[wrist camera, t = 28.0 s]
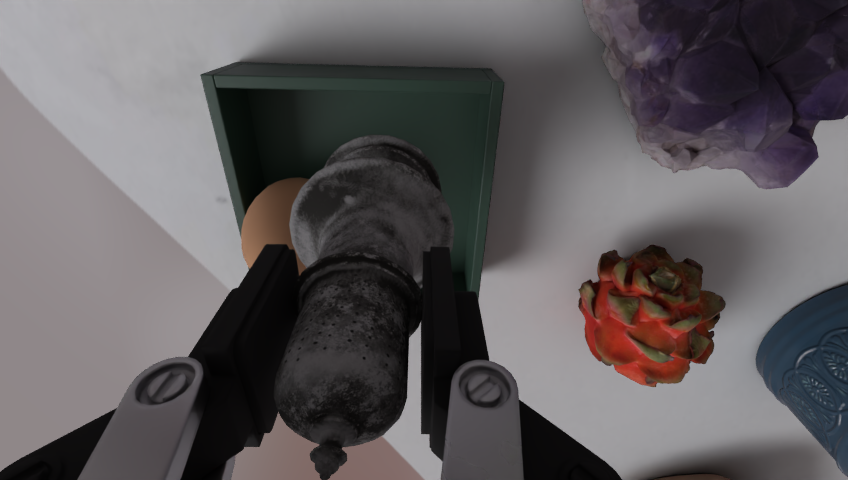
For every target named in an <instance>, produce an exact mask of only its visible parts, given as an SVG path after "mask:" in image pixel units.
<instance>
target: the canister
mask: <svg viewBox="0 0 848 480" xmlns="http://www.w3.org/2000/svg"><path fill="white" fill-rule="evenodd" d="M756 366H757V370H758V372H759V374H760V375H761V377H762V378H763V379H764V382H765V384H766V386H767V388H768V389H769V390H770V391H771V392H772V393H773V394H774V396H775V397H776V398H777V400H779V401H780V402H781V403H782V404H784V405H785V406H787V407H788V408H789V409H790V411H791V412H792V413H793V414H794V415H795V416H796V417H797V418H798V419H799V421H800V422H801V423H802V424H803V425H804V426H805V427H806V428H807V429H808V431H809V432H810V433H811V434H812V435H813V436H814V437H815V438H816V440H817V441H818V442H819V443H820V444H821V445H822V446H823V447H824V448H825V450H826V451H827V452H828V453H829V454H830V455H831V456H832V457H833V459H834V460H835V461H836V463H837V466H838V468H839V469H840V470H841V471H842V473H844V474H845V475H846V476H847V477H848V285H845V286H841V287H838V288H835V289H833V290H830V291H827V292H825V293H822V294H820V295H818V296H816V297H814V298H812V299H810V300H808V301H806V302H805V303H803V304H801V305H800V306H798V307H796V308H795V309H793V310H792V311H791V312H789V313H788V314H787V315H785V316H784V317H783V318H782V319H781V320H780V321H778V322H777V323H776V324H775V325H774V326H773V327H772V328H771V330H770V331H769V332H768V333H767V335H766V336H765V338H764V339H763V341H762V343H761V344H760V346H759V349H758V352H757V356H756Z"/></svg>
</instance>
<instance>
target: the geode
mask: <svg viewBox="0 0 848 480" xmlns="http://www.w3.org/2000/svg"><path fill="white" fill-rule="evenodd" d="M582 1H583V8H584V12H585V14H586V16H587V18H588V21H589V24H590V27H591V29H592V30H593V31H594V32H595V33H596V35H597V36H598V37H599V38H600V39H601V40H602V41H603V42H604V44H605V45H606V48H605V50H604V52H603V54H602V60H603V62H604V63H605V65H606V67H607V69H608V71H609V72H610V74H611V76H612V79H613V80H615V81H616V82H617V83H618V88H619V96H620V98H621V100H622V103H623V105H624V108H625V110H626V113H627V115H628V118H629V120H630V122H631V124H632V126H633V127H634V129H635V131H636V137H637V140H638V142H639V143H640V144H641V148H642V153H646V154H648V155H650V156H651V158H652V159H654V160H656V161H657V162H658V163H659V164H660V165H661V166H663V167H667V168H670V169H672V171H673V173H675V172H677V171H678V170H691V169H695V168H699V167H701V166H708V167H710V168H712V169H725V168H732V169H738V170H741V171H743V172H744V173H745V174H746V175H747V176H748V177H749V178H750V179H751V180H752V181H753V182H754V183H755V184H756V185H757V186H758V187H760V188H763V189H773V188H783V187H788V186H789V185H790V184H791V183H793V182H794V181H795V180H796V179H797V178H798V177H799V176H800V175H801V174H802V173H804V172H805V171H806V170H807V169H808V168H809V167H810V166H811V165H812V164H813V162H814V161H815V160H816V159H817V158H818V152H817V146H816V144H815V143H814V141H813V139H812V137H813V133H814V130H815V127H816V125H817V124H818V122H819V121H820V120H837V119H843V118H844V117H845V116H847V115H848V0H582Z"/></svg>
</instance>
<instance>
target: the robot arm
mask: <svg viewBox="0 0 848 480" xmlns="http://www.w3.org/2000/svg"><path fill="white" fill-rule="evenodd" d="M298 278H299V270H298V264H297V259H296V253H295V250H294V249H289V247H288V245H287V244H266V245H265V246H264V247H263V249H262V251H261V252H260V254H259V255H258V257H257V259H256V260H255V262H254V263H253V265H252V266H251V268H250V270H249V271H248V273H247V274H246V276H245V278H244V279H243V281H242V282H241V284H240V286H239V287H238V288H235V289H233V290H232V291H231V292H230V293H229V294H228V296H227V297H226V299H225V301H224V302H223V304H222V305H221V307H220V308H219V310H218V311H217V313H216V314H215V316H214V318H213V319H212V321H211V322H210V324H209V325H208V327H207V328H206V330H205V331H204V333H203V335H202V336H201V338H200V339H199V341H198V342H197V344H196V345H195V347H194V348H193V350H192V352H191V353H190V355H189V356H188V357H175V358H170V359H166V360H163V361H161V362H158V363H156V364H154V365H152V366H151V367H149V368H148V369H145V370H144V371H143V372H142V373H141V374H139V375H138V376H137V377H136V378H135V379H134V381H133V382H132V384H131V385H130V386H129V388H128V389H127V392H126V393H125V395H124V397H123V398H122V400H121V402H120V404H119V406H118V407H117V408H116V409H114V410H112V411H110V412H109V413H107V414H105V415H103V416H101V417H99V418H97V419H95V420H93V421H91V422H89V423H87V424H85V425H84V426H82V427H80V428H78V429H76V430H74V431H73V432H70V433H68V434H67V435H65V436H63V437H61V438H59V439H57V440H55V441H53V442H51V443H49V444H47V445H45V446H43V447H42V448H40V449H38V450H36V451H34V452H32V453H30V454H29V455H26V456H25V457H22V458H21V459H19V460H17V461H16V462H14V463H13V464H11V465H9V466H8V467H6V468H4V469H3V470H2V471H1V472H0V480H231V477H232V473H233V468H234V464H235V455H236V454H238V453H239V452H241V451H242V450H243V449H244V447H259V446H260V444H261V441H262V438H263V436H264V433H270V432H271V430H272V428H273V426H274V423H275V420H276V417H277V414H278V410H277V407H276V404H275V400H274V396H273V394H274V384H275V379H276V373H277V370H278V368H279V365H280V362H281V360H282V357H283V355H284V352H285V349H286V347H287V344H288V342H289V339H290V336H291V334H292V331H293V328H294V326H295V323H296V321H297V317H296V315H295V312H294V307H293V301H292V294H293V289H294V285H295V283H296V281H297V280H298ZM421 434H430V448H431V451H432V452H433V453H434V454H435V455H436V456H437V457H439V458H440V459H441V460H442V461H443V464H442V473H441V480H622V479H621V478H620V476H619V475H618V474H617V472H616V471H615V470H614V469H613V468H612V467H611V466H609V465H608V464H607V463H606V462H605V461H604V460H602V459H601V458H599V457H598V456H597V455H595V454H594V453H592V452H591V451H590V450H588V449H587V448H586V447H584V446H583V445H581V444H580V443H579V442H577V441H576V440H574V439H573V438H572V437H570V436H569V435H568V434H566V433H565V432H563V431H562V430H561V429H559V428H558V427H556V426H555V425H554V424H552V423H551V422H549V421H548V420H547V419H545V418H544V417H543V416H541V415H540V414H538V413H537V412H536V411H534V410H533V409H531V408H530V407H529V406H527V405H526V404H525V403H523V402H522V401H520V400H519V396H518V387H517V383H516V381H515V379H514V377H513V376H512V374H511V373H510V372H509V371H508V370H506V369H505V368H504V367H503V366H501V365H499V364H497V363H495V362H491V361H489V356H488V351H487V345H486V340H485V335H484V330H483V324H482V319H481V314H480V308H479V303H478V298H477V294H476V292H475V291H454V284H453V275H452V266H451V258H450V249H449V247H432V246H431V247H430V251H423V276H422V320H421Z"/></svg>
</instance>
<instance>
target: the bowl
mask: <svg viewBox="0 0 848 480" xmlns="http://www.w3.org/2000/svg"><path fill="white" fill-rule="evenodd" d="M655 480H731V479H728V478H725V477H722V476H719V475H715V474H694V475H679V476H672V477H665V478H660V479H655Z"/></svg>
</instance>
